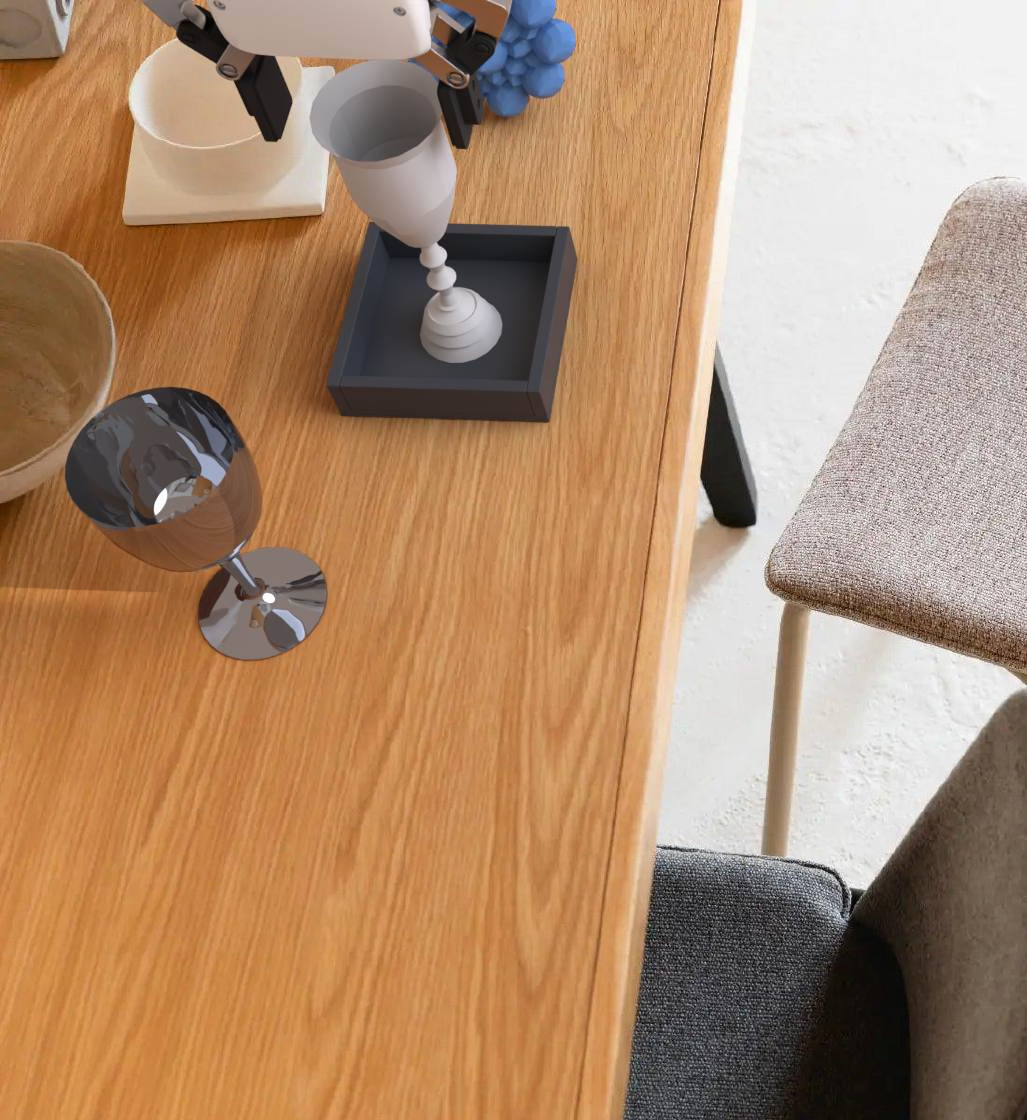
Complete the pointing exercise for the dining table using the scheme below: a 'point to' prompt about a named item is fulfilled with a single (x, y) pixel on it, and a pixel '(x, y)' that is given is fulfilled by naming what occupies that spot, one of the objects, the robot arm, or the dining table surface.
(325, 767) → the dining table surface
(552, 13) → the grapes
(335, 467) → the dining table surface
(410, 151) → the chalice
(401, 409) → the tray
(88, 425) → the wine glass
